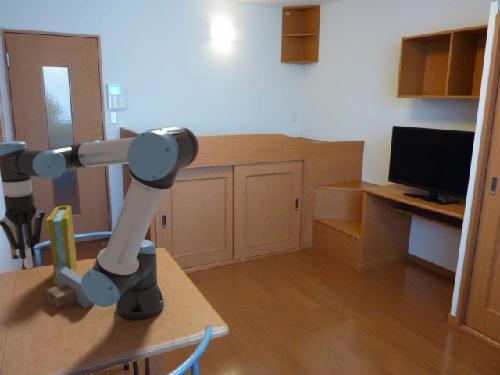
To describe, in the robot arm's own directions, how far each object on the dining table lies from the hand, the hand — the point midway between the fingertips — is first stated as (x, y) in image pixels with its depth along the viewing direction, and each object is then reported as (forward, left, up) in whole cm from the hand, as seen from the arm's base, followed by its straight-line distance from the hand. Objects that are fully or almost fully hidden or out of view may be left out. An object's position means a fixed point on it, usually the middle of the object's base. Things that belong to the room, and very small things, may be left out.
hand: (28, 267), depth 125 cm
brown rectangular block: (0, -9, -16) cm, 18 cm away
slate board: (0, -13, -16) cm, 21 cm away
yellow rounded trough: (+19, -20, -16) cm, 32 cm away
